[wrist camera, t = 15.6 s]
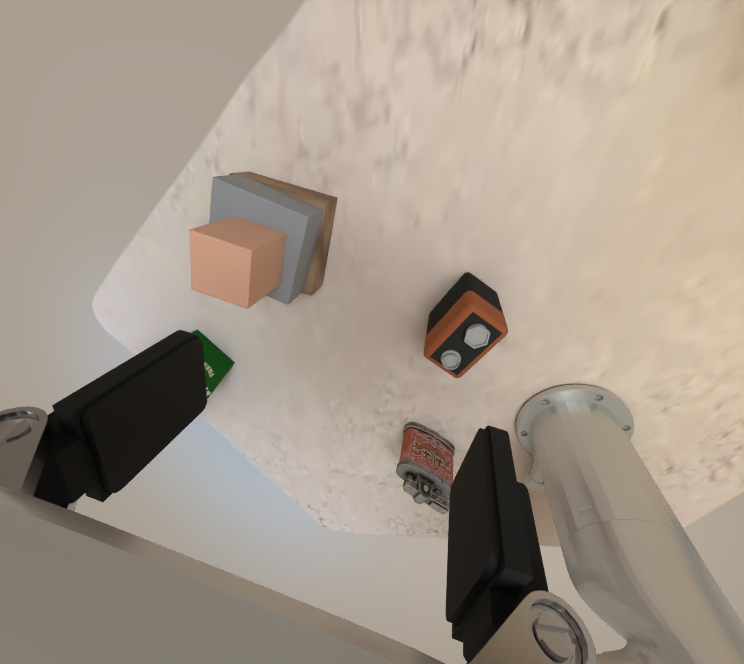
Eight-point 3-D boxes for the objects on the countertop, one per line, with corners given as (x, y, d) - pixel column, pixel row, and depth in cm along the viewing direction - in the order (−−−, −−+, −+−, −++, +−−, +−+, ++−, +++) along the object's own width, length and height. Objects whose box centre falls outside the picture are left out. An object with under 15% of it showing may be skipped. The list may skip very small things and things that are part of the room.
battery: (499, 292, 36) (513, 337, 27) (457, 335, 39) (458, 387, 31) (466, 269, 35) (471, 307, 27) (427, 314, 39) (419, 361, 30)
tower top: (303, 290, 37) (288, 304, 33) (228, 258, 37) (205, 269, 33) (324, 209, 32) (308, 216, 28) (238, 174, 32) (212, 177, 29)
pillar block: (280, 283, 32) (247, 308, 27) (233, 267, 32) (191, 289, 27) (287, 233, 30) (251, 250, 24) (235, 216, 30) (189, 229, 25)
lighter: (399, 431, 48) (387, 491, 40) (412, 417, 46) (402, 477, 38) (445, 458, 49) (443, 524, 40) (459, 446, 47) (460, 512, 38)
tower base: (323, 283, 40) (311, 295, 37) (247, 259, 41) (228, 269, 37) (338, 197, 35) (326, 202, 32) (250, 171, 36) (229, 173, 32)
